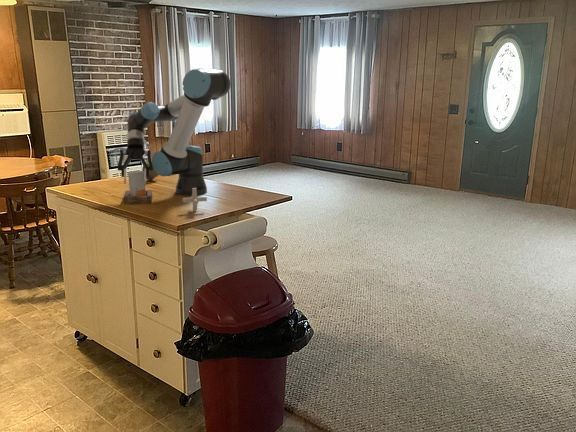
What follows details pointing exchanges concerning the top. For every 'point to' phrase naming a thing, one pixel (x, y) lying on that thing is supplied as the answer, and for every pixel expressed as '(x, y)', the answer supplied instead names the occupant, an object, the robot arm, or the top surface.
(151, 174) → the natural sponge
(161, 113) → the robot arm
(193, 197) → the pipe connector
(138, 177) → the skincare box
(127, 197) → the socket
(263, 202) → the top surface
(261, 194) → the top surface
